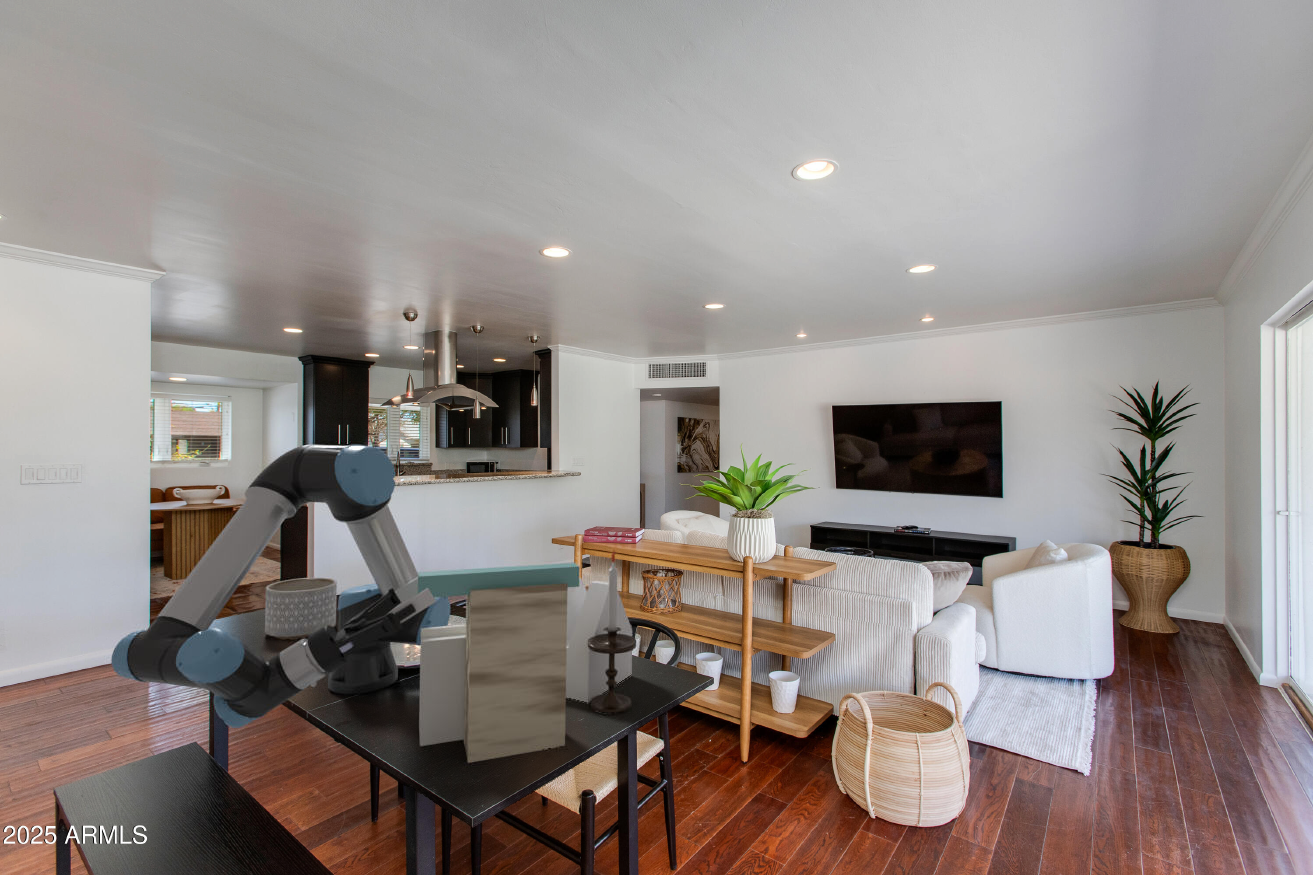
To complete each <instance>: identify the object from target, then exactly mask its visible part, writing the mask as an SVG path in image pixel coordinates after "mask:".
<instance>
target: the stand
mask: <svg viewBox="0 0 1313 875" xmlns="http://www.w3.org/2000/svg"><path fill="white" fill-rule="evenodd" d="M567 590H568V584H567V583H563V584H550V585H536V586H522V587H508V588H494V589H481V590H470V595H465V604H466V605H465V609H466V610H465V624H466V642H465V698H464V739H463V744H464V748H465V754H466V755H465V756H466V759H467V763H468V764H469V763H474V762H482V761H487V760H492V759H493V760H494V759H498V758H504V757H505V758H506V757H509V756H510V757H511V756H514V755H515V756H517V755H522V754H527V753H532V752H538V751H544V750H549V749H548V748H551V749H557V748H560V747H559V746H563V747H565V746H566V713H567V712H566V702H567V700H566V699H567V698H566V651H567ZM564 745H565V746H564ZM556 747H557V748H556ZM543 749H544V750H543Z"/></svg>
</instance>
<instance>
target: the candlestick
mask: <svg viewBox="0 0 1313 875" xmlns="http://www.w3.org/2000/svg"><path fill="white" fill-rule="evenodd" d="M611 562H612V563H611V567H610V568H609V569H608V583H609V603H608V627H606V628H604V629H603V630H604V631H607V632H608V634H601V635H597V636H595V637H591V638H590V639H588V648H589V649H590V650H592V651H594V652H598V653H605V654H609V668H608V669H607V670H606V671H605V673H606V675H607V677H608V681H606V685H608V691H607V693H604V694H602V695H598V696H596V697H594V698H593V699H592V700H591V702H590V708H591V710H592V709H593V710H592V711H594V710H595V711H598V712H601V713H607V714H606V715H616V714H615V713H620V714H622V713H625V712H624V711H626V710H628V709H629V708H630V707H632V699H631V698H630V697H628V696H627V695H625V694H621V693H615V687H614V685H616V684H617V681H615V676H617V673H618V671H617V669H615V654H618V653H625V652H629V651H631V650H632V651H633V650H635V649H636V648H637V638H635V637H634V636H633V635H632V636H629V635H625V634H617V632H618V631H620V630H621V628H619V627H616V625H617V591H618V568H617V567H616V565H615V562H616V551H615V549H613V552H612V554H611ZM616 686H617V685H616ZM630 709H631V708H630ZM630 709H629V710H630ZM629 710H628V711H629ZM595 711H594V712H595ZM598 712H597V713H598ZM626 712H627V711H626ZM601 713H600V714H601ZM609 713H610V714H609Z"/></svg>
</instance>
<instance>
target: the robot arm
mask: <svg viewBox="0 0 1313 875" xmlns="http://www.w3.org/2000/svg"><path fill="white" fill-rule="evenodd" d="M394 478H396V471H395V467H394V464H393V462H392V460H391V458H390V457H389V456H388V454H387V453H385V452H384V451H383V450H382V449H379V448H378V447H374V446H369V445H363V444H349V445H335V444H334V445H331V444H327V445H326V444H315V443H314V444H313V443H312V444H305V445H300V446H297V447H295V448H292V449H291V450H288V451H287V452H285V453H283V454H282V455H280V456H279V457H277V458H276V459H274V461H271V463H270V464H269V465H267V467H265V468H264V469H263V470H262V471H261V472H260V473H259V474H258V475H257V476H256V477H255V479H254V480H253V481H252V482H251V484H249V486H248V487H247V489H246V490H245V491H244V492H245V493H244V495H245V501H244V502H243V504H242V505H241V506H240V507H239V509H238V510H237V511H236V512H235V514H234V515H233V516H232V518H231V519H230V520H229V522H228V523H227V524H226V525H225V527H224V528H223V529H222V531H221V532H220V533H219V535H218V536H217V537H216V538H215V540H214V542H213V543H212V544H211V545H210V546H209V548H208V549H207V551H206V552H205V553H204V555H203V556H202V557H201V558H200V559H199V561H198V562H197V563H196V565H195V566H194V567H193V569H192V570H191V572H190V573H189V574H188V575H187V576H186V578H185V579H184V580H183V582H182V584H181V585H180V586H179V587H178V589H177V590H176V591H175V592H174V594H173V595H172V597H171V598H170V599H169V600H168V602H167V603H166V604H165V606H164V607H163V609H161V611H160V612H159V613H158V614H157V616H156V618H155V619H154V620H153V621H152V623H151V624H150V626H148V628H147V629H142V630H136V631H132V632H130V634H127V635H126V636H125V637H123V638H122V639H120V641H119V642H118V643H117V644H116V645H115V648H114V649H113V650H112V655H111V667H112V670H113V671H114V673H116V675H118V677H122V678H125V679H129V680H133V681H135V682H141V683H157V684H158V683H159V684H165V685H166V684H168V685H173V686H179V687H187V688H197V689H203V690H206V691H209V692H211V693H212V694H213V695H214V696H213V706H214V709H215V711H216V714H217V715H218V717H219V718H220V719H221V720H222V721H223V722H224V723H225V724H226V725H227V726H228V727H231V728H233V729H239V728H242V727H244V726H246V725H248V724H250V723H252V722H254V721H255V720H257V719H260V718H262V717H264V716H266V715H267V713H269V712H271V711H272V710H274V709H276V708H277V707H278V706H280V705H282V704H283V703H285V702H286V701H288V700H289V699H291V698H293V697H295V695H298V694H299V693H300V692H302V691H303V690H305V689H306V688H308V687H309V686H311V687H312V688H314V687H316V686H317V684H318V681H320V680H321V679H322V678H324V677H325V676H326V675H327V673H329V675H328V683H327V684H328V686H327V687H328V689H329V690H330V691H331V692H333V693H337V694H342V695H358V694H359V695H360V694H364V693H365V694H366V693H371V692H375V691H380V690H382V689H385V688H387V687H389V686H392V685H393V684H395V682H397V680H398V673H399V672H398V671H399V669H398V665H397V663H396V660H395V656H394V653H393V650H392V647H391V643H393V644H395V643H397V644H403V645H413V646H419V647H421V628H431V627H442V626H449V625H448V624H449V621H450V616H451V602H450V599H449V596H448V597H433V595H432V594H431V592H430V591H429V589H428V588H427V589H425V590H424V591H422V592H420V593H419V594H418V570H417V568H416V566H415V563H414V562H413V560H412V557H411V555H410V553H409V550H408V548H407V546H406V543H405V541H404V539H403V537H402V534H401V532H400V530H399V527H398V525H397V523H396V521H395V519H394V516H393V514H392V512H391V510H390V507H389V504H390V502H391V500H392V495H393V492H394V491H395V487H396V480H395V479H394ZM308 503H323V504H324V503H325V504H326V505H327V507H328V508H329V509H328V510H330V513H331V514H332V517H333V518H334V520H336V521H338V522H340V523H345V524H346V525H347V528H348V530H349V532H350V535H352V536H351V537H352V538H353V540H354V542H355V545H357V548H358V550H359V552H360V553H361V556H362V558H363V560H364V563H365V564H366V566H367V568H368V570H369V572H370V574H371V577H372V579H373V580H374V583H367V584H362V585H358V586H357V585H356V586H354V587H350V588H346V590H344V591H342V592H341V593H340V594H339V597H338V606H337V607H336V612H337V630H336V628H335V626H334V627H332V626H330V625H326V626H324V627H322V628H321V629H319V630H317V631H316V632H314V633H312V634H311V635H309V637H308V638H302V639H299V640H298V641H297V642H295V643H294V644H292V645H290V646H288V647H287V648H285V649H283V650H282V651H280V652H278V653H277V654H276V655H274V656H273V657H271V658H269V659H267V660H266V659H264V658H263V657H261V656H260V655H258V654H257V653H256V652H255V651H254V650H252V649H251V648H249V647H248V646H247V645H245V643H243V642H242V641H241V639H240V638H238V637H237V636H235V634H232V633H229V632H227V631H225V630H223V629H221V628H218V627H211V625H212V624H213V622H214V621H215V620H216V619H217V617H218V615H219V614H220V613H221V611H222V610H223V609H224V607H225V606H226V604H227V603H228V602H229V600H230V599H231V597H232V596H233V594H234V593H235V591H236V589H238V587H239V585H240V584H241V583H242V582H243V579H244V578H245V577H246V575H247V574H248V572H249V571H250V570H251V569H252V567H253V565H254V564H255V562H257V560H258V558H259V557H260V555H261V554H262V552H263V551H264V549H265V548H266V547H267V545H268V543H270V541H271V539H273V537H274V535H275V534H276V532H277V531H278V530H279V528H280V526H281V525H283V524H282V523H283V522H284V521H285V519H290V518H293V517H294V516H295V514H296V513H297V512H298V511H299V509H300V508H301V507H302V506H304V505H305V504H308Z"/></svg>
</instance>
